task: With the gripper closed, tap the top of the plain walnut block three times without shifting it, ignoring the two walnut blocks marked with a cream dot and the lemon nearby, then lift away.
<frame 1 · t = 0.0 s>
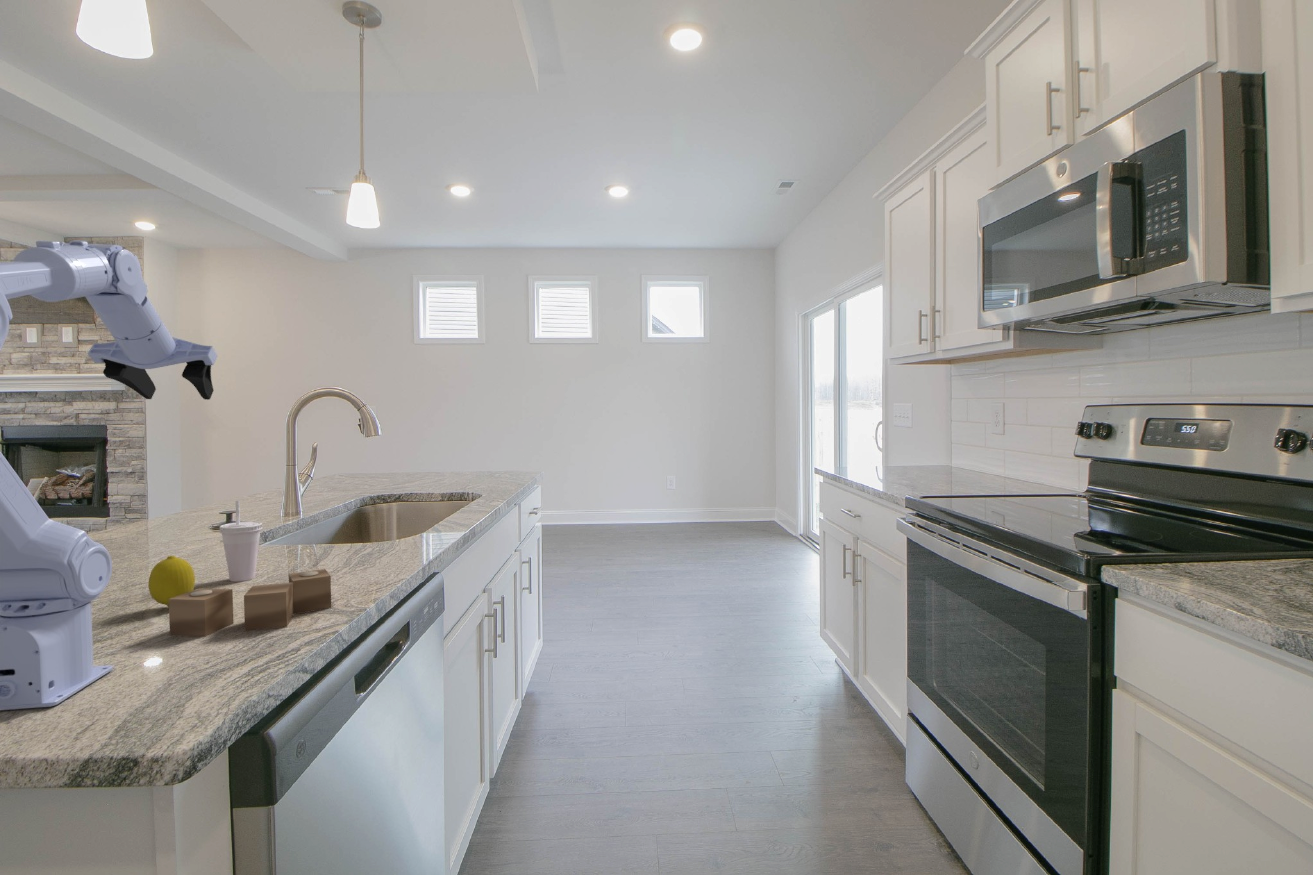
hand: (180, 394, 93), 32 cm above the worktop, tool tilted 50°, fingers open, 7 cm apart
smoothie: (242, 579, 111), on the worktop
plain block: (269, 623, 88), on the worktop
dotted block b: (310, 607, 96), on the worktop
lemon: (173, 609, 95), on the worktop
dotted block a: (202, 629, 86), on the worktop
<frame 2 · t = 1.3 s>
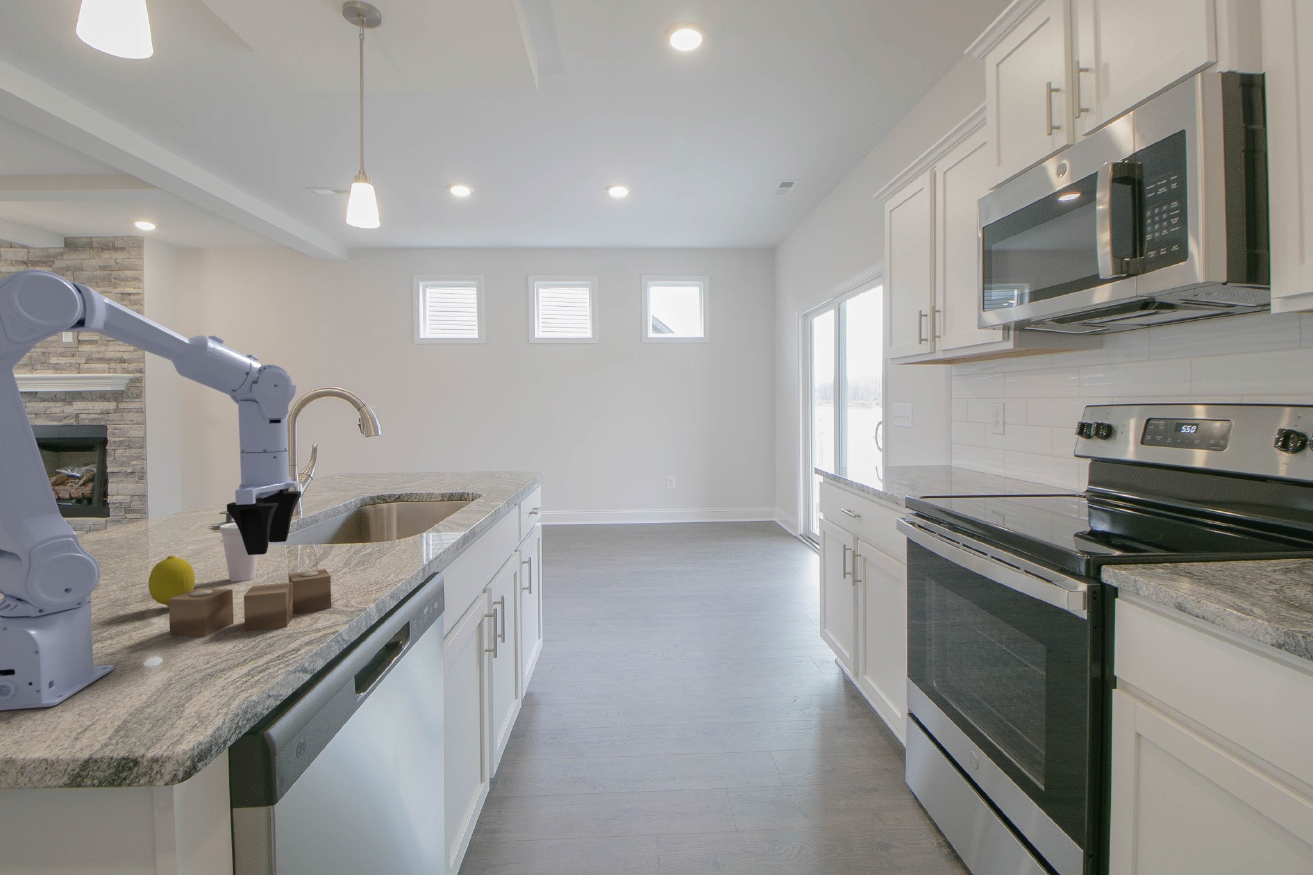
hand: (268, 547, 88), 11 cm above the worktop, tool pointing down, fingers open, 7 cm apart
nothing on the worktop moved.
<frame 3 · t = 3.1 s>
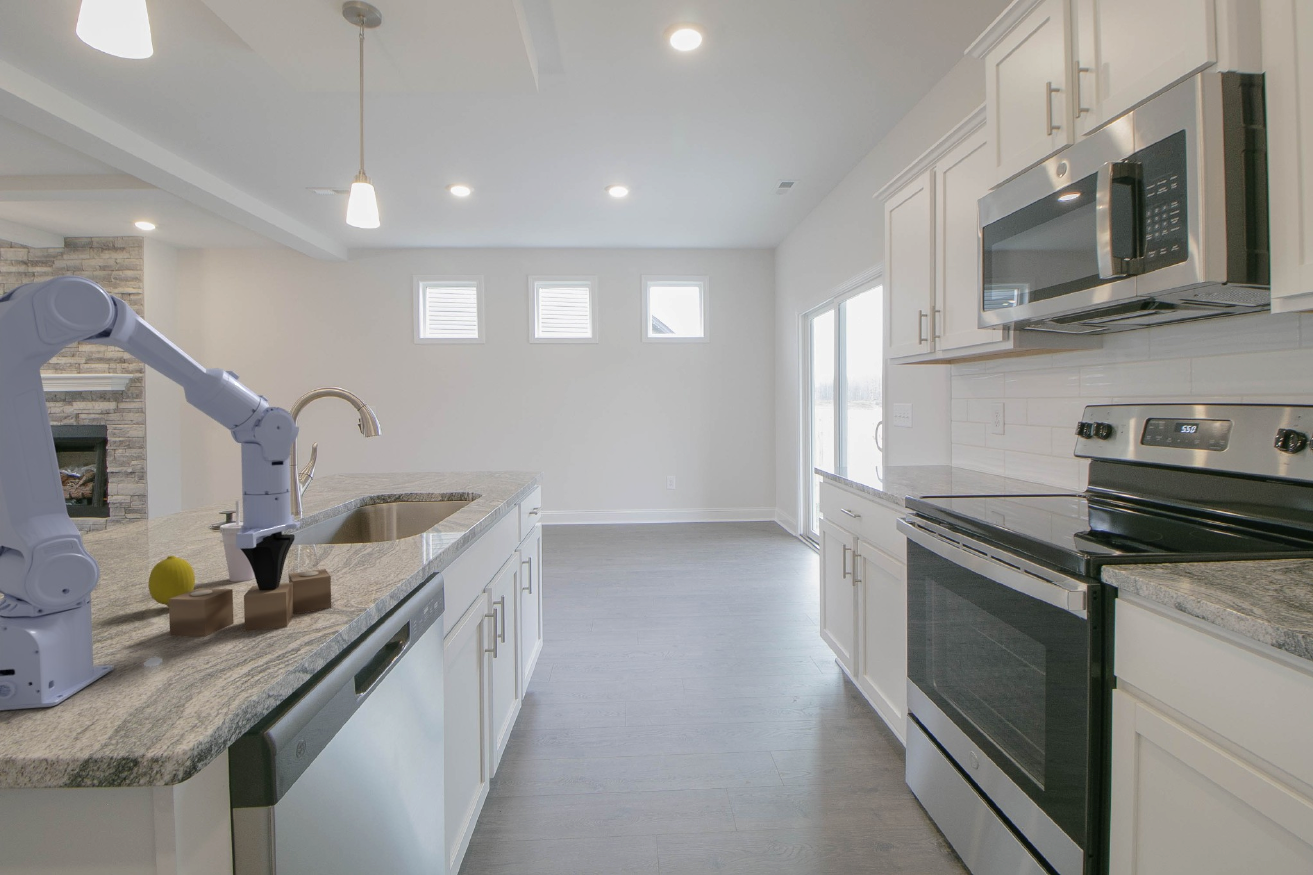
hand: (269, 588, 88), 5 cm above the worktop, tool pointing down, fingers closed
nothing on the worktop moved.
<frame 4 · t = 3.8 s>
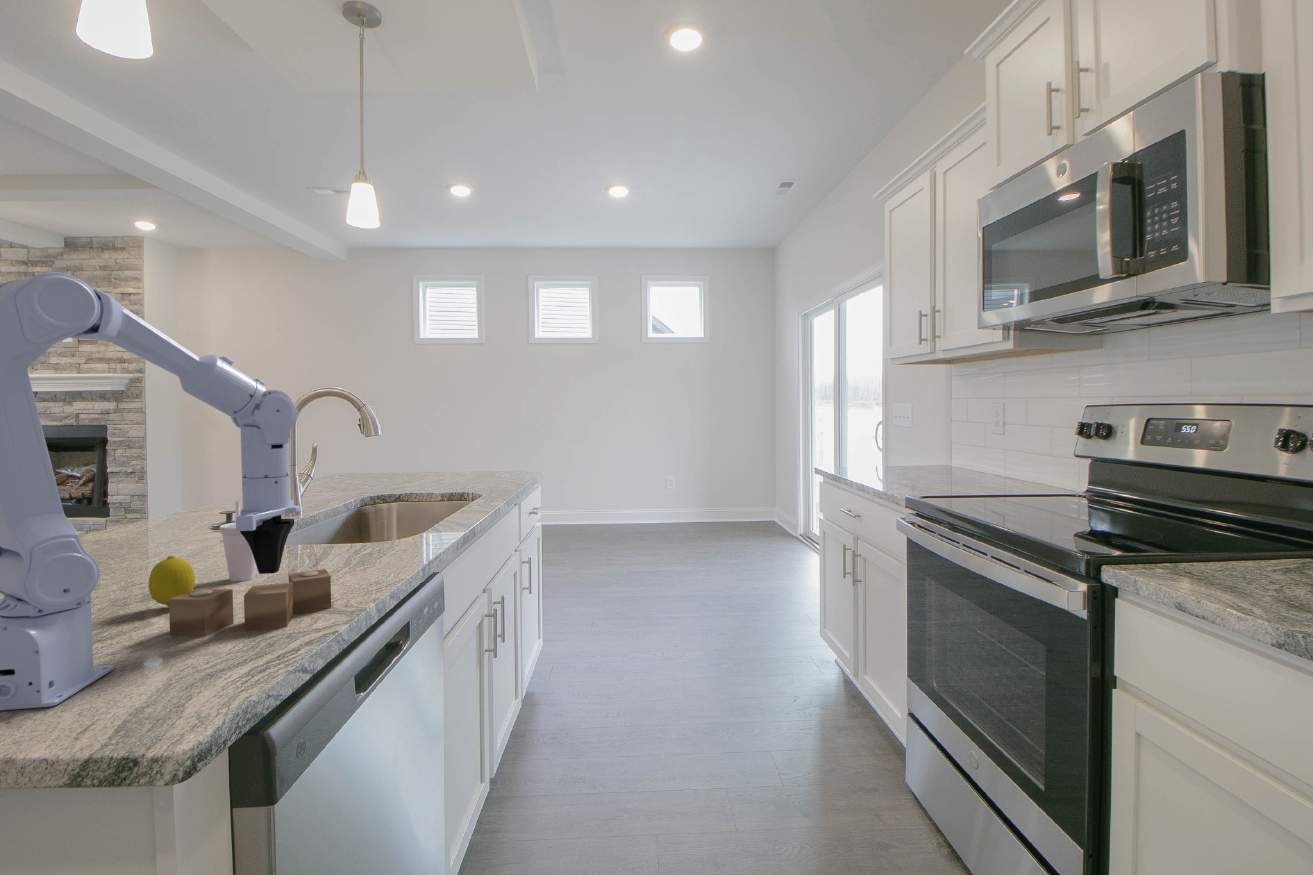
hand: (269, 572, 88), 7 cm above the worktop, tool pointing down, fingers closed
nothing on the worktop moved.
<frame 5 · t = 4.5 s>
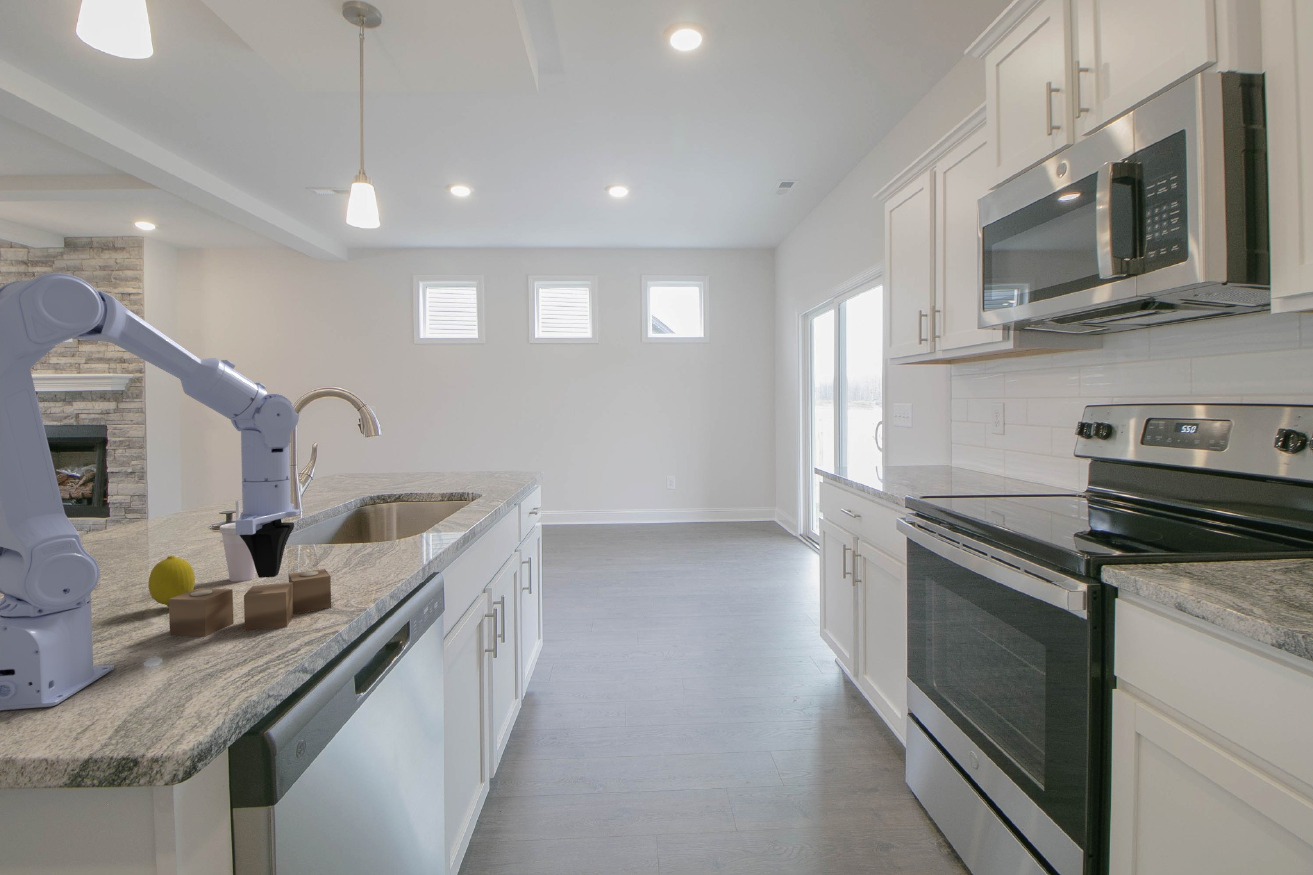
hand: (268, 576, 88), 7 cm above the worktop, tool pointing down, fingers closed
nothing on the worktop moved.
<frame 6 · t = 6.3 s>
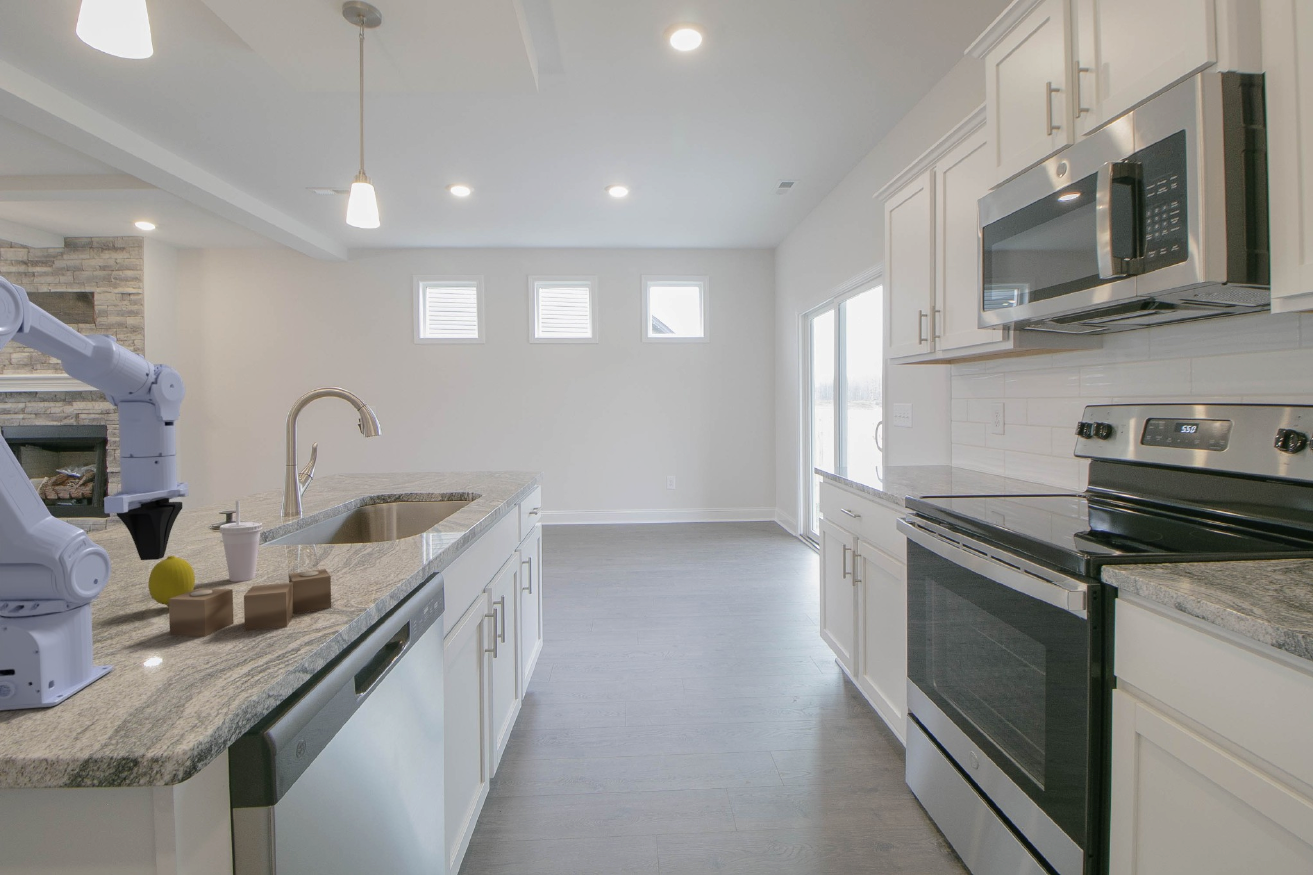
hand: (152, 558, 82), 10 cm above the worktop, tool pointing down, fingers closed
nothing on the worktop moved.
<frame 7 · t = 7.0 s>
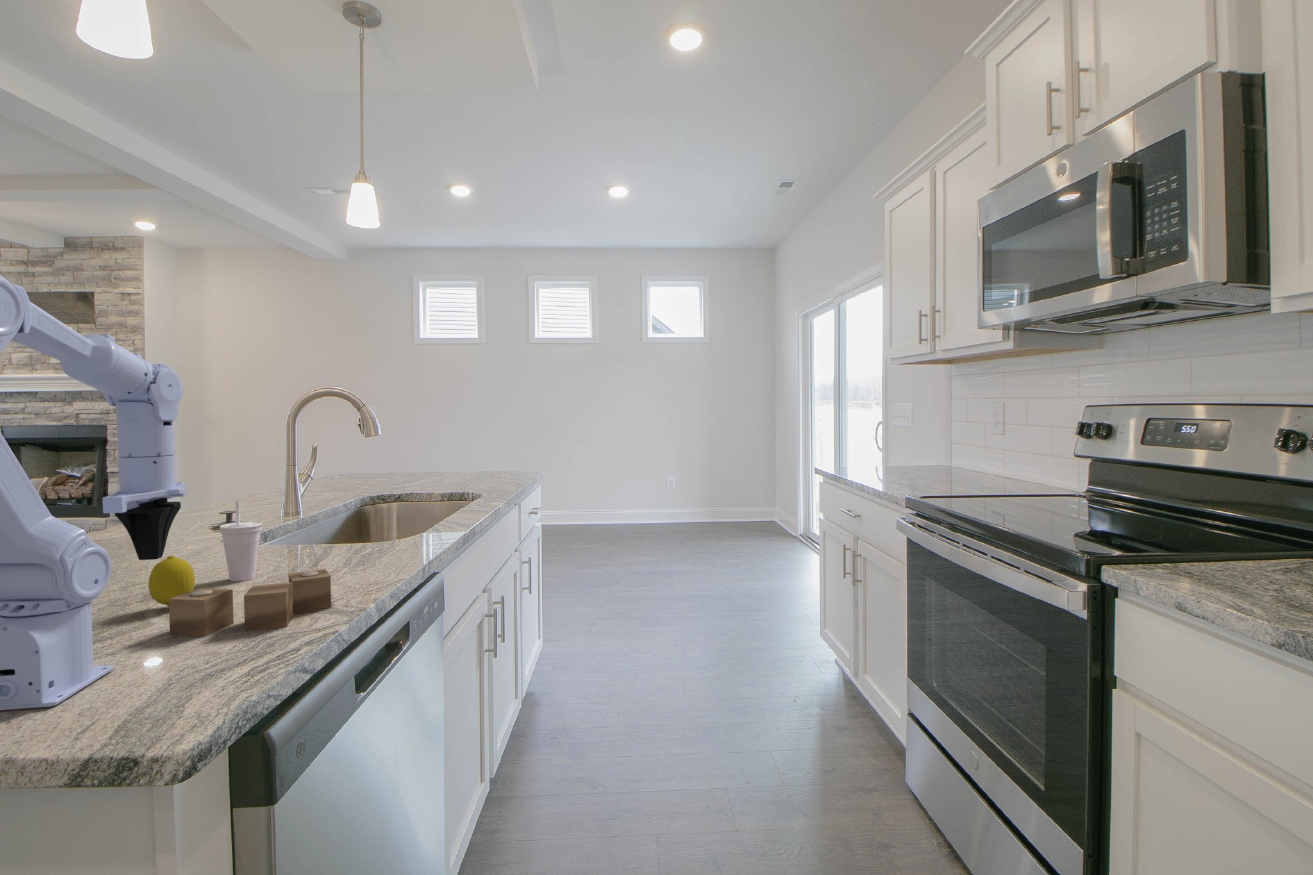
hand: (150, 558, 82), 10 cm above the worktop, tool pointing down, fingers closed
nothing on the worktop moved.
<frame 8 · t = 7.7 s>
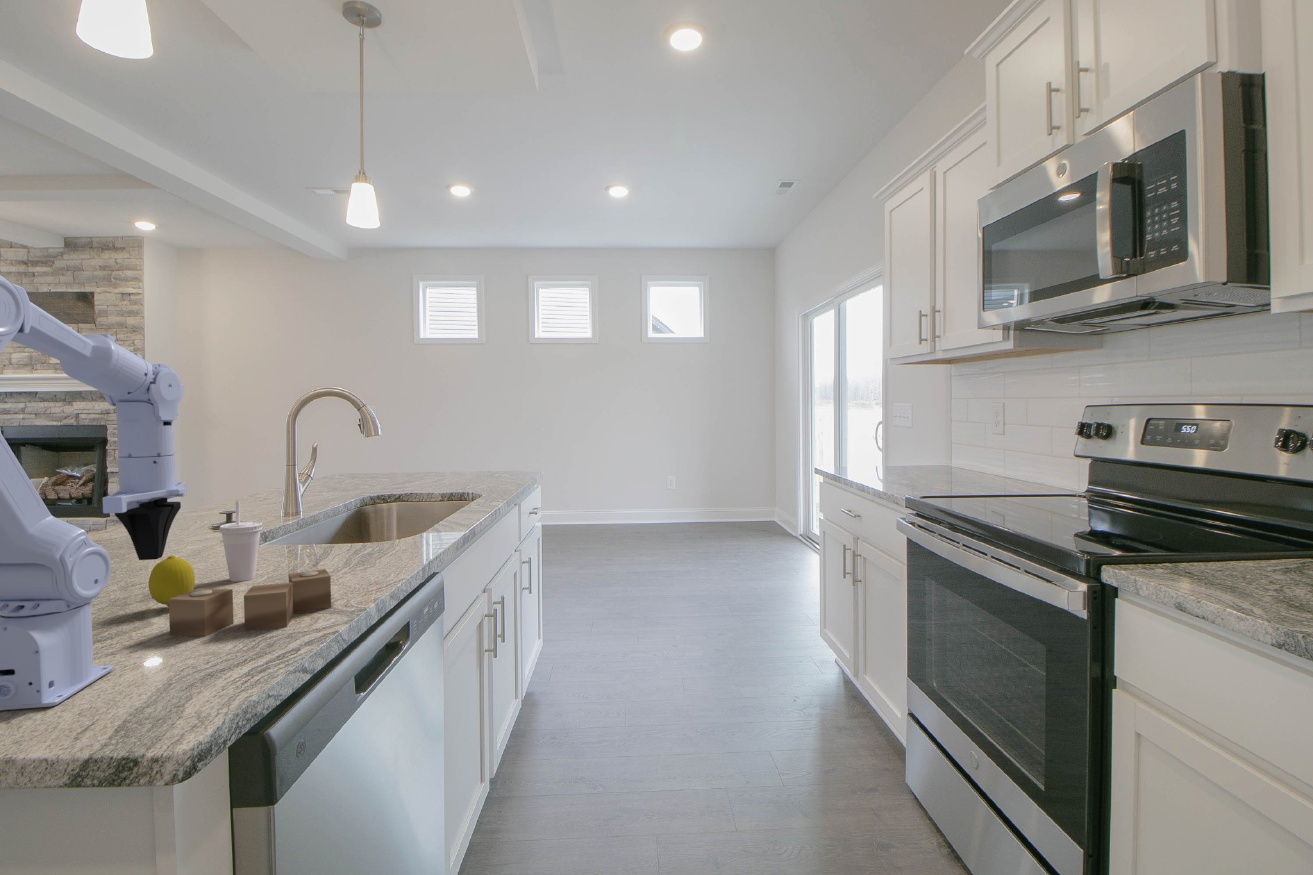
hand: (150, 558, 82), 10 cm above the worktop, tool pointing down, fingers closed
nothing on the worktop moved.
at the end: plain block moved 0.1 cm from its start; plain block tilted 0°; dotted block a moved 0.1 cm from its start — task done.
